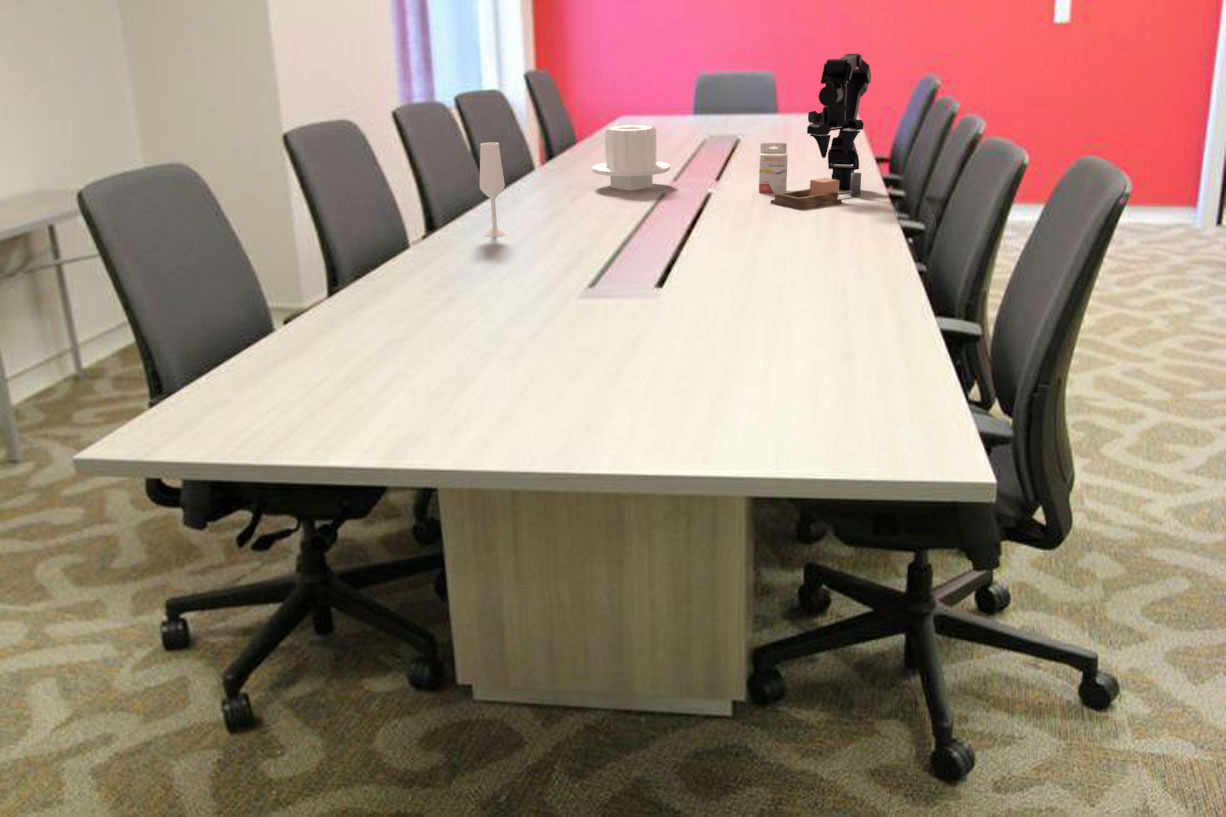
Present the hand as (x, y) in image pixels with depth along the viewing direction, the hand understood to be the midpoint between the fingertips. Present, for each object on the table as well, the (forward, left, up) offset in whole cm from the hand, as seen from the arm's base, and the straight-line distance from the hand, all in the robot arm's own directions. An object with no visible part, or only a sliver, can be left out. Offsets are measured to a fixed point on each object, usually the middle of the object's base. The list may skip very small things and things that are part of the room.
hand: (834, 156), depth 354 cm
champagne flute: (+108, -15, -12) cm, 109 cm away
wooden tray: (+15, +5, -12) cm, 20 cm away
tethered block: (+3, +5, -11) cm, 13 cm away
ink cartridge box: (+10, -17, -12) cm, 23 cm away
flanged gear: (+39, -53, -12) cm, 67 cm away
